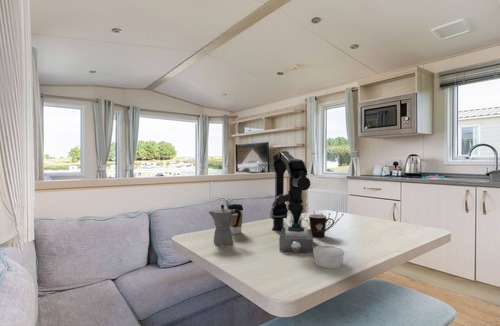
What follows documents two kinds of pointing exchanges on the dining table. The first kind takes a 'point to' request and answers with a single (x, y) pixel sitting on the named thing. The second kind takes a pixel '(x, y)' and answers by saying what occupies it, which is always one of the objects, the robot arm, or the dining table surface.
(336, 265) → the ramekin
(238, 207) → the coffee cup
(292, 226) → the metal can
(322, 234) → the coffee mug
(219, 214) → the coffeepot
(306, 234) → the grey hollow block
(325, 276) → the dining table surface
